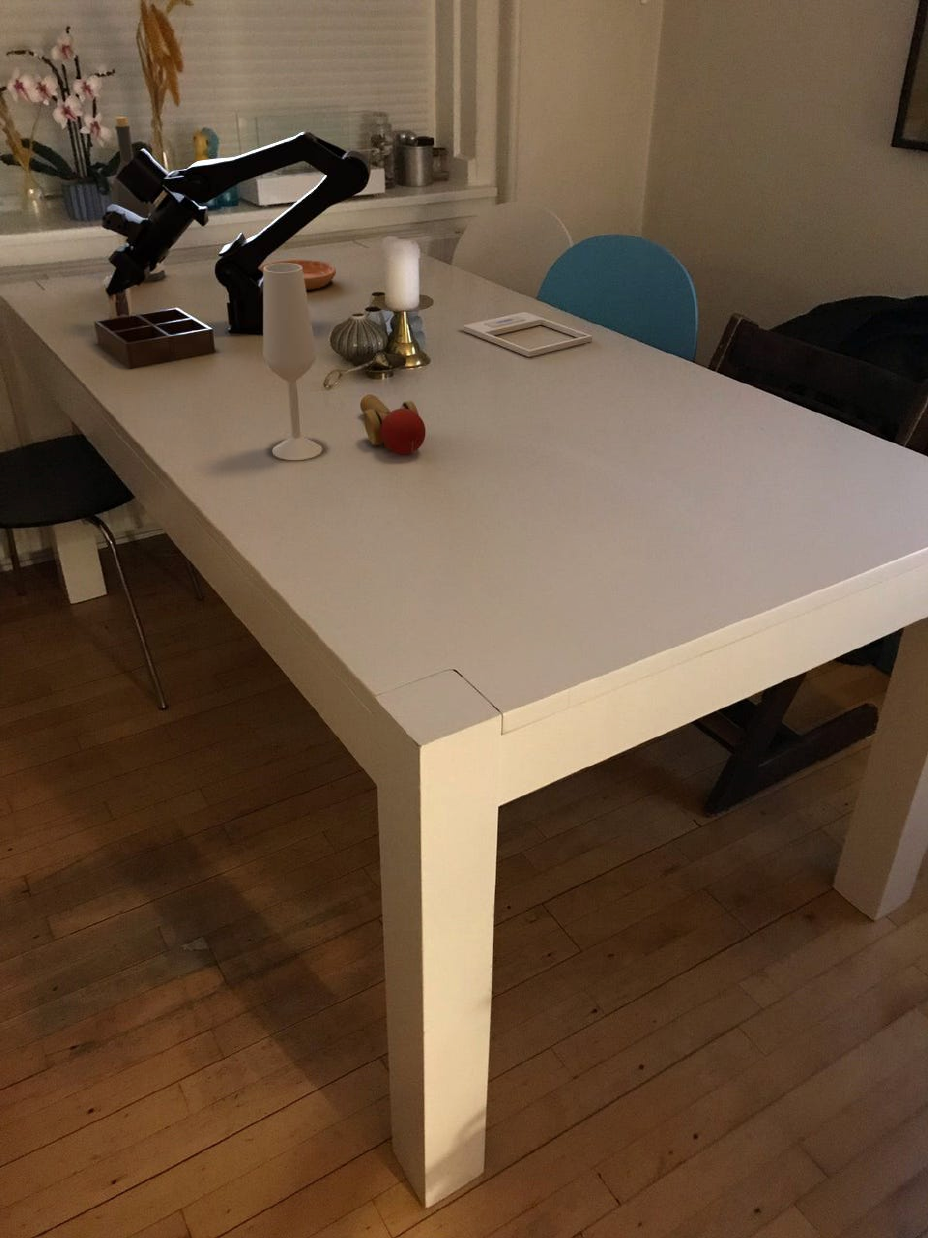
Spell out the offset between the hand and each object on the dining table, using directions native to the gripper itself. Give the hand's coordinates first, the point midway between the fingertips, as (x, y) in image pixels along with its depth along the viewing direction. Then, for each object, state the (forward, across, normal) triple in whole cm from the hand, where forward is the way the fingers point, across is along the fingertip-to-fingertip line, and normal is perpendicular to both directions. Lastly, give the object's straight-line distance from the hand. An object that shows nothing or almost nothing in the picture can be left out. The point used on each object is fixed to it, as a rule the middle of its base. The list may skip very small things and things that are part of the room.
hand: (111, 289), depth 181 cm
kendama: (-31, +49, +41) cm, 71 cm away
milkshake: (+4, 0, +6) cm, 7 cm away
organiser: (-2, +12, +11) cm, 16 cm away
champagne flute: (-22, +54, +32) cm, 67 cm away
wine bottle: (+7, -34, +2) cm, 35 cm away
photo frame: (-47, +3, +56) cm, 73 cm away
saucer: (-15, -31, +25) cm, 42 cm away
